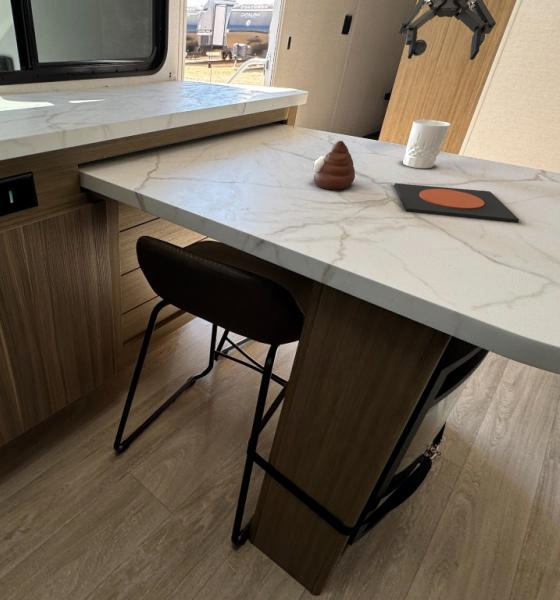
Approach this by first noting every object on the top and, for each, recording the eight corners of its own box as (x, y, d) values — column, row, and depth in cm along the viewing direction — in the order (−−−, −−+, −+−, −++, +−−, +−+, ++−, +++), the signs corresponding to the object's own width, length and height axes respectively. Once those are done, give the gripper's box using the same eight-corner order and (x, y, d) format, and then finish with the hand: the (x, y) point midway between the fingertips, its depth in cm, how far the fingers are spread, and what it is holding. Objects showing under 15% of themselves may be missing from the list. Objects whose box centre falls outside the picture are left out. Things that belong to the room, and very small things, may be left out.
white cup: (435, 163, 106) (451, 121, 100) (434, 171, 100) (450, 127, 95) (401, 159, 109) (414, 118, 104) (398, 166, 103) (412, 123, 98)
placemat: (488, 194, 86) (490, 189, 86) (518, 222, 73) (520, 217, 73) (394, 185, 91) (395, 181, 90) (405, 211, 78) (407, 206, 78)
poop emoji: (346, 193, 86) (358, 147, 81) (305, 186, 90) (314, 142, 85) (356, 181, 93) (368, 137, 88) (318, 175, 97) (327, 133, 92)
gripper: (499, -5, 104) (493, 67, 101) (391, -3, 111) (381, 65, 107) (517, -35, 97) (511, 42, 93) (401, -31, 103) (390, 41, 100)
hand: (442, 55), depth 100 cm, fingers open, 13 cm apart
